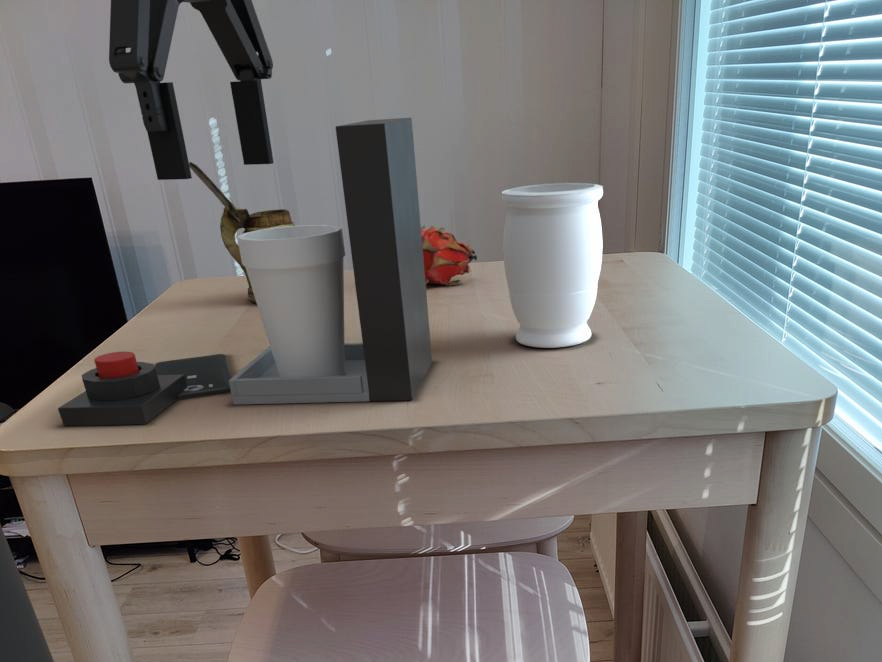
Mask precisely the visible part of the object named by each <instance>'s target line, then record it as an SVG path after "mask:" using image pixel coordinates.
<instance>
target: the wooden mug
mask: <svg viewBox="0 0 882 662" xmlns="http://www.w3.org/2000/svg"><path fill="white" fill-rule="evenodd" d="M189 166H190V170H191V171H192V172H193V173H194V174H195V175H196V177H198V179H200V181H201V182H202V183H203V184H204V185H205V186H206V187H207V188H208V189H209V190H210V191H211V192H212V194H213V195H214V196H215V197H216V199H218V200H219V202H220V203H221V204H222V206H224V207H223V211H222V215H221V217H220V224H219V228H220V237H221V240H222V243H223V245H224V247H225V248H226V250H227V251H228V253H229V254H230V256H231V257H232V258H233V259H234V261H235V262H236V263H237V265H239V267H240V268H241V270H242V272H244V274H245V278H246V282H247V284H248V287H247V298H248V300H249V301H251V303H253V304H256V305H257V303H256V300H255V296H254V293H253V290H252V287H251V284H250V280H249V277H248V274H247V271H246V268H245V266H244V265H242V260H241V255H240V250H239V245H238V242H236V241H237V240H236V234H237V231H238V230H240V229H244V230H243V232H242V233H241V234H243V233H247V232H252V231H256V230H262V229H269V228H276V227H285V226H296V225H295V222H294V221H292V217H291V213H290V211H289V210H288V209H285V208H280V209H269V210H262V211H256V212H254V213H251V214H250V213H249V211H248V209H247V208H239V207H238V208H237V207H236V206H235V205H234V204H233V202H232V201H231V200H229V198H228V197H227V196H226V195H225V194H224V193H223V192H222V191H221V189H220V188H219V187H217V185H216V183H214V181H212V179H211V178H210V177H209V176H208V175H207V174H206V173H205V171H203V170H202V169H201V168H200V166H199V165H197V164H195V163H194V162H192V161H189Z"/></svg>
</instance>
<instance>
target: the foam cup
mask: <svg viewBox="0 0 882 662" xmlns="http://www.w3.org/2000/svg"><path fill="white" fill-rule="evenodd" d="M242 233H243V232H242ZM242 233H241V234H239V235H238V236H236V239H237V245H238V246H239V250H240V255H241V260H242V265H244V266H245V268H246V271H247V274H248V277H249V280H250V284H251V287H252V290H253V293H254V296H255V300H256V303H257V304H256V303H255V304H256V305H257V309H258V312H259V315H260V319H261V322H262V325H263V328H264V331H265V335H266V338H267V342H268V345H269V346H270V348H271V351H272V354H273V357H274V360H275V363H276V367H277V370H278V373H279V374H280V378H281V377H316V376H343V374H344V372H345V371H344V366H345V347H344V343H345V285H344V284H345V281H344V279H345V278H344V277H345V276H344V275H345V274H344V272H345V271H344V258H345V257H346V250H345V242H344V232H343V227H341V226H338V225H335V224H299V225H295V226H285V227H276V228H269V229H262V230H256V231H252V232H247V233H243V234H242Z"/></svg>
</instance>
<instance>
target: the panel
mask: <svg viewBox="0 0 882 662" xmlns="http://www.w3.org/2000/svg"><path fill="white" fill-rule="evenodd" d="M137 365H138V369H139V371H138V372H137V373H133V374H130V375H126V376H120V377H113V378H101V377H99V375H98V372H97V368H96V367H95V368H91V369H88V371H86V372H84V373H83V374H81V379H82V384H83V386H84V390H85V391H83V392H81V393H80V394H77V396H75V397H73V398H72V399H70V400H68V401H67V402H66V403H64V404H62V405H60V406H59V407H57V410H58V413H59V416H60V420H61V422H62V425H63V427H79V426H80V427H83V426H87V427H88V426H123V425H124V426H125V425H126V426H128V425H133V426H134V425H147V424H148V423H149V422H151V421H152V420H153V419H155V418H156V417H157V416H159V415H160V414H161V413H162V412H164V411H165V410H166V409H167V408H169V407H170V406H171V405H173V404H174V403H175V402H177V401H179V400H178V395H179V394H180V393H181V392H183V391H184V390H185V389H186V388H187V384H186V380H185V376H184V374H181V375H157V373H156V369H155V365H154V363H151V362H145V361H137Z"/></svg>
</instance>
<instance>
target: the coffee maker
mask: <svg viewBox="0 0 882 662" xmlns="http://www.w3.org/2000/svg"><path fill="white" fill-rule="evenodd" d="M413 129H414V128H413V120H412V117H398V118H397V117H396V118H382V119H368V120H362V121H357V122H352V123H346V124H341V125H336V126H335V134H336V143H337V150H338V157H339V165H340V174H341V181H342V191H343V198H344V206H345V214H346V222H347V231H348V239H349V245H350V253H351V262H352V269H353V277H354V285H355V293H356V301H357V308H358V317H359V325H360V332H361V341H362V342H346V343H345V342H344V347H345V366H344V371H345V372H344V374H343V376H316V377H281V378H280V374H279V373H278V370H277V367H276V363H275V360H274V357H273V354H272V351H271V348H270V345H269V346H268V347H267V348H266V349H264V350H263V351H262V352H260V353H259V355H257V356H256V357H255V358H254V359H253V360H251V361H250V362H249V363H247V365H245V366H244V367H243V368H241V370H239V372H237V373H236V374H235V375H234V376H232V377H231V379H230V380H229V385H230V390H231V392H230V394H231V398H232V402H233V405H235V406H236V405H237V406H238V405H280V404H314V403H315V404H317V403H318V404H319V403H358V402H360V403H361V402H397V401H398V402H399V401H413V399H414V397H415V396H416V394H417V392H418V390H419V388H420V386H421V385H422V383H423V381H424V379H425V377H426V375H427V373H428V371H429V369H430V368H431V366H432V364H433V354H432V344H431V332H430V320H429V307H428V306H429V305H428V297H427V296H428V295H427V284H426V283H425V271H424V259H423V247H422V235H421V227H422V225H421V214H420V213H421V212H420V201H419V191H418V178H417V177H418V176H417V165H416V155H415V154H416V153H415V144H414V143H415V142H414V141H415V140H414V131H413Z"/></svg>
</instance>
